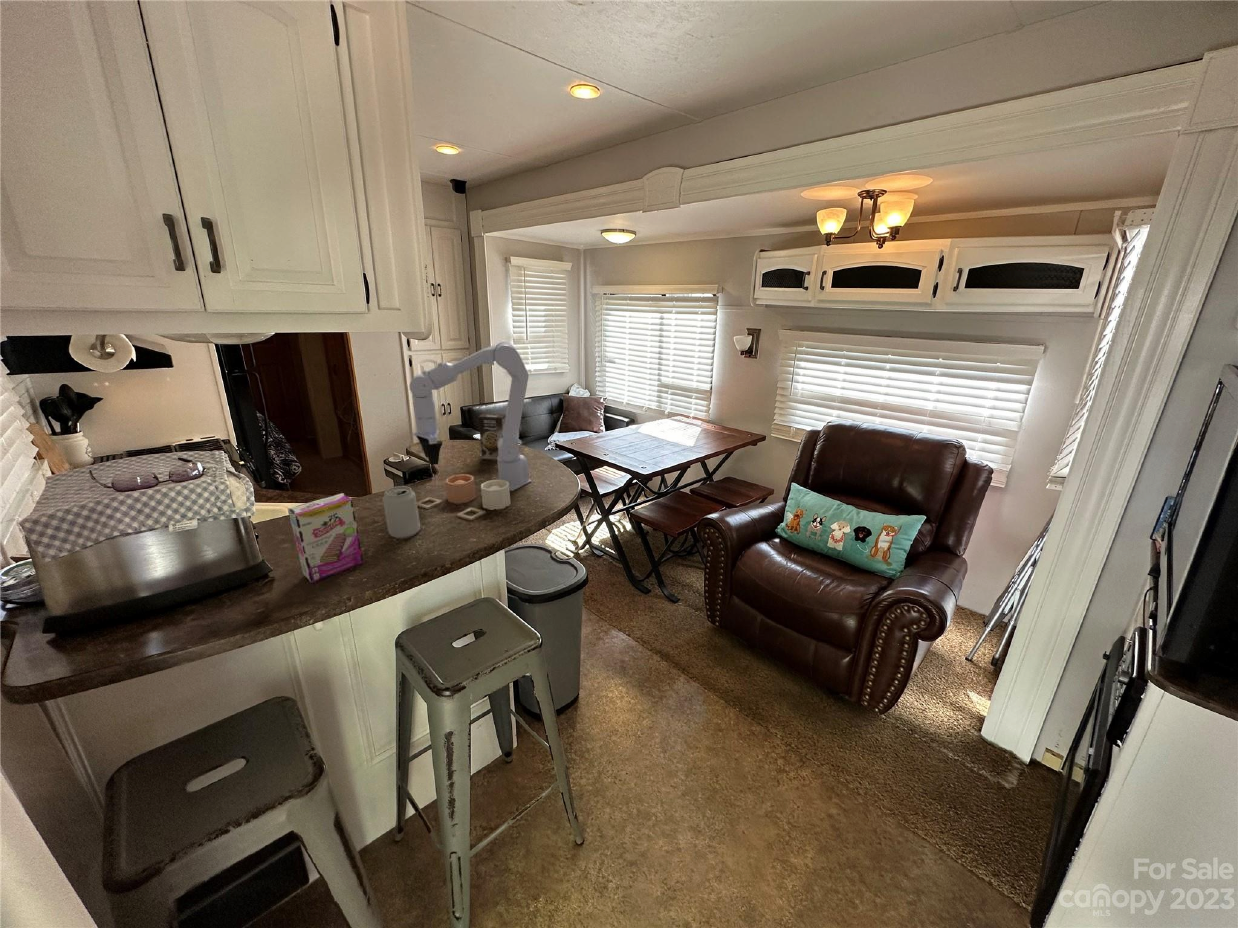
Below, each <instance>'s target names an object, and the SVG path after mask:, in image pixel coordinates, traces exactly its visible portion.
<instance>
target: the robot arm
mask: <svg viewBox="0 0 1238 928" xmlns="http://www.w3.org/2000/svg"><path fill="white" fill-rule="evenodd" d="M495 363H496V364H497V365H498V367H501V369H504V370H505V371H506V372H507V373H508V375H509V376H510V377H511V380H510V381H511V382H510V388H509V393H508V394H509V395H508V401H507V406H506V413H505V414H506V417H505V423H504V428H503V431H502V435H501V437H500V438H499V439H498V442H497V446H498V454H499V456H498V457H497V471H498V480H504V481H508V482H509V491H511V492H513V491H515V490H517V489H520V488H521V487H523V486H525V485H527V484H530V483H531V482H532V480H531V479H530V471H529V470H530V469H529V461H528V460H527V458H526V456H524V455H523V454H520V448H519V437H520V426H521V421H522V415H523V409H524V406H525V405H524V404H525V397H526V393H527V387H528V381H529V372H528V370H527V367H526V366H525V364H524V361H523V359H522V357H521V355H520V353H519V352H518V351H517V349H516V348H515V347H514V346H513V345H512V344H510V343H509V342H500V343H497V344H496V345H495V344H494V345H490V346H488V347H485V348H482V349H479V350H478V351H476V352H474V353H472V354H470V355H469V356H467V357H465V358H463V359H461V360H459V361H457V362H455V363H450V362H444V363H443V362H442V361H441V362H438V363H437V366H435V367H433V368H431V369H429V370H425V369H424V370H423V371H422V372H421V373H420V374H416V375H415V376H414V377H413V378H412V379H411V381H410V383H409V390H410V393H411V394H412V401H413V402H412V404H413V411H414V417H415V424H416V431H413V432H412V434H413V436H414V437H416V438H417V440H419V441H418V442H420V444H421V445H420V446H421V448H422V450H423V454H424V456H425V458H427V459H428V461H429V462H428V463H429V464H430V466H435V465H439V461H440V452H441V449H442V445H443V441H442V440H438V439H437V437H438V435H439V434H440V430H439V427H438V419H437V413H436V405H435V400H434V396H433V391H437V390H439V389H441V388H444V387H446V386H448V385H450V384H452V383H455V382H456V381H457V380H458V377H459V375H460V374H463V373H466V372H467V371H470V370H472V369H474V368H477V367H479V366H482V365H490V366H491V365H492V366H494V365H495Z"/></svg>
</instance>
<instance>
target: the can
mask: <svg viewBox="0 0 1238 928" xmlns="http://www.w3.org/2000/svg"><path fill="white" fill-rule="evenodd" d="M416 497H417V496H416V493H415V492H414V491H413V490H412V488H411V487H410V486H406V485H399V486H394V487H390V488H388V489H386V490H385V491H384V496H383V497H382V504H383V508H384V514H385V520H386V525H387V531H388V535H389V536H391V537H393V538H395V539H401V540H402V539H407V538H411V537H413V536H415V535H416V534H417V533H418V532H419V531H420V529H421V523H420V522H421V521H420V518H419V517H420V516H419V509H418V506H417V502H418V501H417V498H416Z"/></svg>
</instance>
